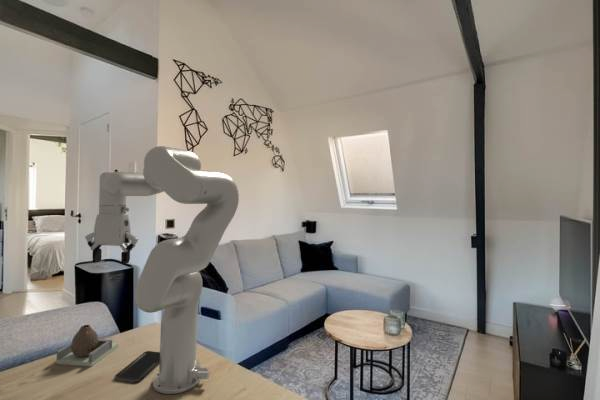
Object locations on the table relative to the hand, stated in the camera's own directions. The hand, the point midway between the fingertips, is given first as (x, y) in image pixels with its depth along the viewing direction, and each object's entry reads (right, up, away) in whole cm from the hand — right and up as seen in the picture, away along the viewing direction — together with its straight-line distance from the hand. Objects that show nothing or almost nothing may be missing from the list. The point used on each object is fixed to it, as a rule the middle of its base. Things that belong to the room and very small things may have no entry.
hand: (111, 262), depth 104 cm
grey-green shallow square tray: (-5, -28, -4) cm, 29 cm away
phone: (+15, -30, -9) cm, 35 cm away
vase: (-4, -27, -6) cm, 28 cm away
